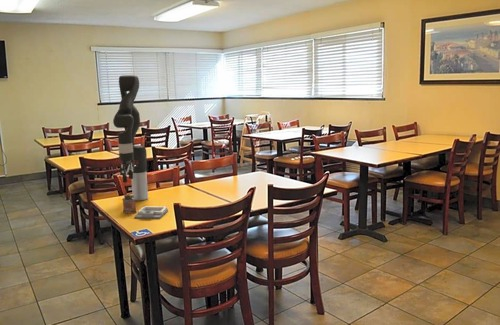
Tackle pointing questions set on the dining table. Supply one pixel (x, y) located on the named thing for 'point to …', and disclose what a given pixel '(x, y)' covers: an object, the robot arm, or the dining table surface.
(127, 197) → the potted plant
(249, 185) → the dining table surface
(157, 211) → the grey flat square tray
